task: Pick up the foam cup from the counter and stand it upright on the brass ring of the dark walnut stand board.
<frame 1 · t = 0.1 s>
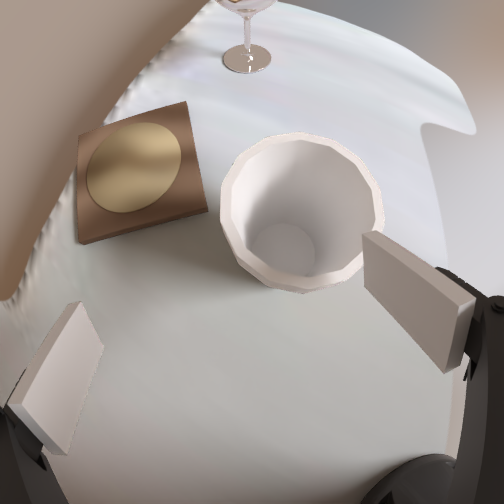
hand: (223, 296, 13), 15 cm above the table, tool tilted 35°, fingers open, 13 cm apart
stand board: (135, 170, 32), on the table
wineglass: (247, 59, 36), on the table
foam cup: (283, 255, 30), on the table
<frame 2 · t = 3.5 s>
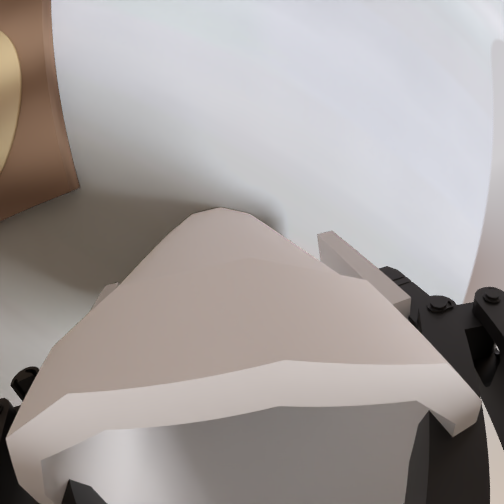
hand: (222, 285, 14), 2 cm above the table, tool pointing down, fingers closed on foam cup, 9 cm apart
foam cup: (220, 265, 16), on the table, touching gripper
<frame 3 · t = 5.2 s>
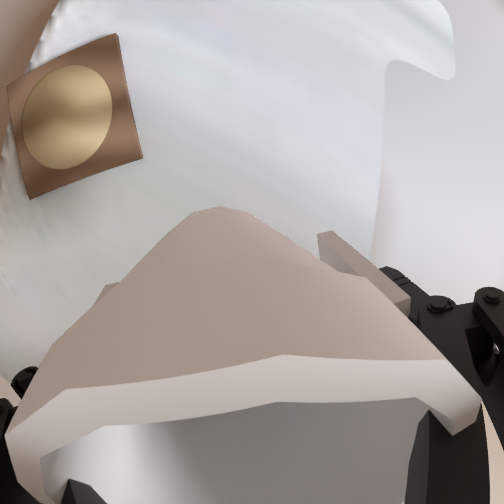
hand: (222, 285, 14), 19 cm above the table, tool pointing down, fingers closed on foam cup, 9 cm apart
stand board: (69, 116, 26), on the table
foam cup: (220, 264, 16), point 16 cm above the table, touching gripper
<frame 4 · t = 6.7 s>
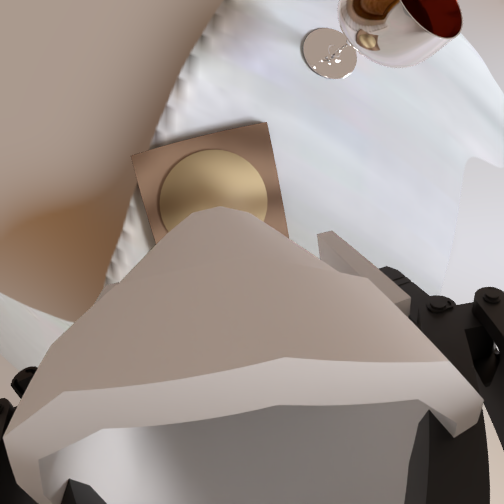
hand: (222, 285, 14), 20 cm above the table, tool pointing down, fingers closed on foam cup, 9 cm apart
stand board: (213, 201, 32), on the table
wineglass: (330, 53, 28), on the table
foam cup: (220, 264, 16), point 17 cm above the table, touching gripper
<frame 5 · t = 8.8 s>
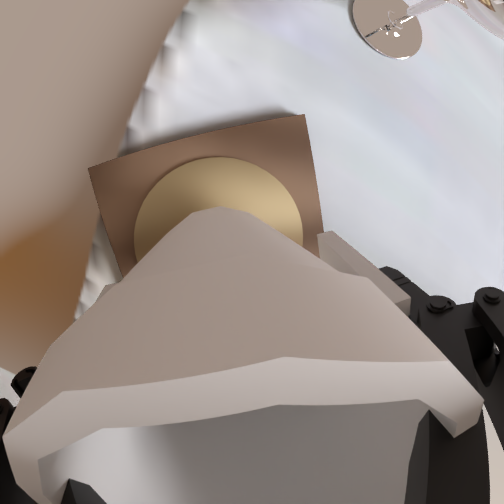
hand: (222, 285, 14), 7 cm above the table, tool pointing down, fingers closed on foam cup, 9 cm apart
stand board: (218, 237, 21), on the table
wineglass: (387, 23, 17), on the table
foam cup: (220, 264, 16), point 5 cm above the table, touching gripper
when the fingers open (5 cm above the table, at t = 10.3 s): foam cup drops 1 cm, resting on stand board.
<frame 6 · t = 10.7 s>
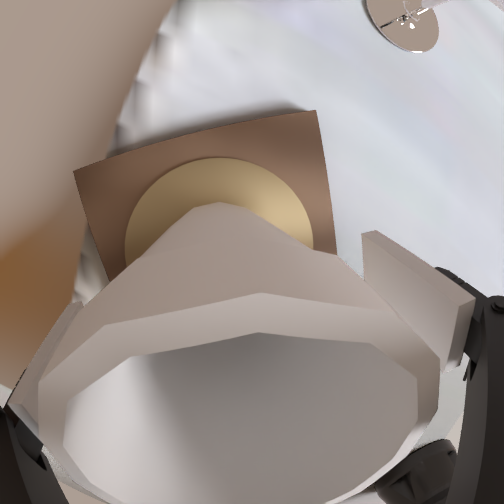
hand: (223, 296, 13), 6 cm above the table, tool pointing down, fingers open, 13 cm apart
stand board: (218, 247, 19), on the table
wineglass: (402, 14, 15), on the table
foam cup: (218, 255, 18), point 1 cm above the table, touching stand board
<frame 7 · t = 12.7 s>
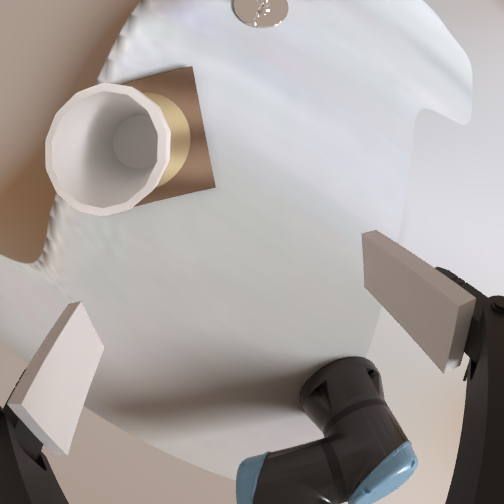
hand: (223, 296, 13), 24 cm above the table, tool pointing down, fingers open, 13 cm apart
stand board: (142, 140, 32), on the table
wineglass: (261, 6, 27), on the table
foam cup: (140, 141, 30), point 1 cm above the table, touching stand board
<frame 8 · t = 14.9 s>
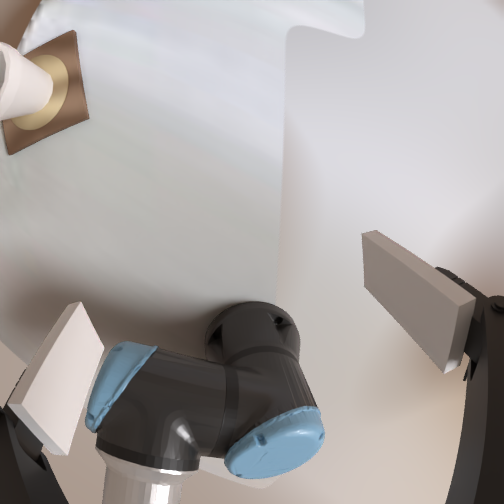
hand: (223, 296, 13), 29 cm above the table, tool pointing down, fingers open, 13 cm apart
stand board: (40, 92, 31), on the table
foam cup: (35, 91, 30), point 1 cm above the table, touching stand board
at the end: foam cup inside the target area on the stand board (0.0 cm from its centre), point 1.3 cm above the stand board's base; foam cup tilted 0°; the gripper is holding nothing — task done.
